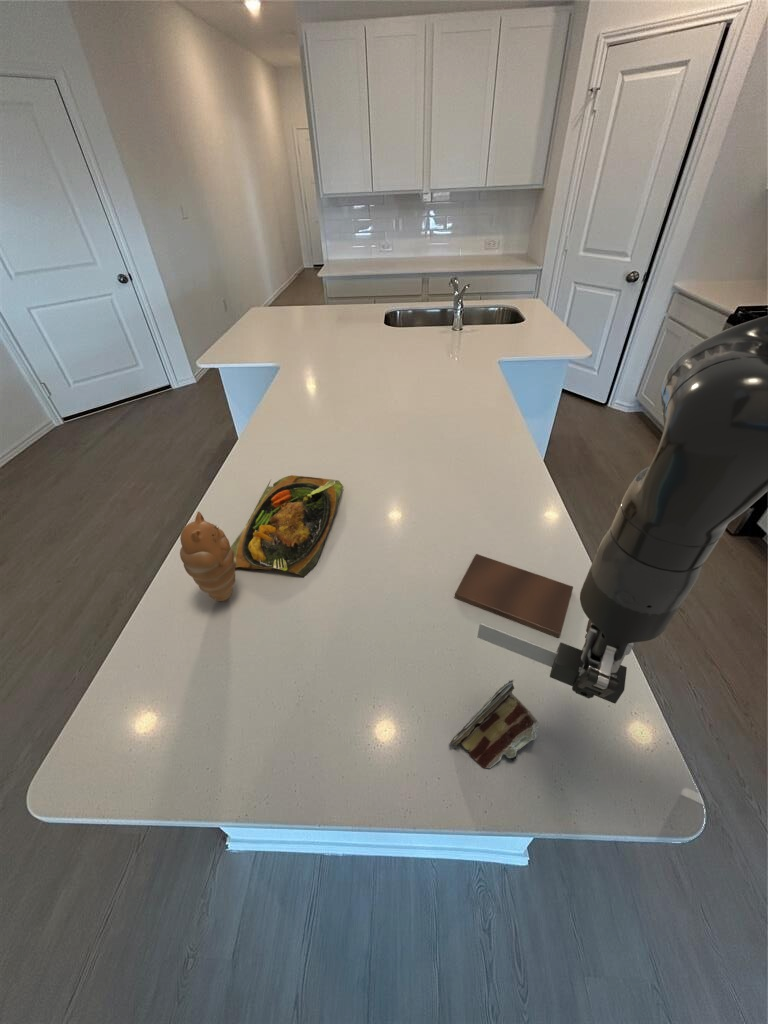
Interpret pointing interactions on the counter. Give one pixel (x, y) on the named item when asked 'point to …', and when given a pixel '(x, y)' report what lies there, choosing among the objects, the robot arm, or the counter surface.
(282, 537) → the prepared meal
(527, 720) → the chocolate cake
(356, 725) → the counter surface
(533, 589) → the board
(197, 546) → the cat ice cream
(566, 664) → the knife
